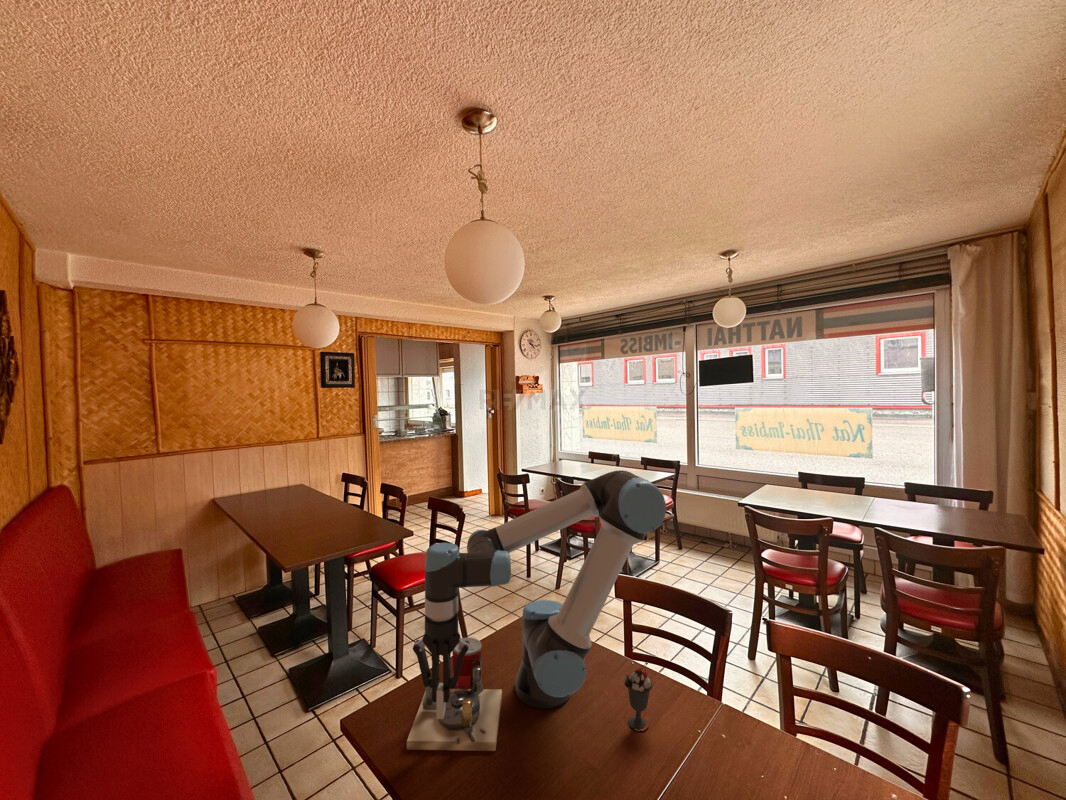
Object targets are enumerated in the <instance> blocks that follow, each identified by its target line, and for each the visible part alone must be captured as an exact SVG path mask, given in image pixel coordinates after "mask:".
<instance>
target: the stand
mask: <svg viewBox="0 0 1066 800" xmlns="http://www.w3.org/2000/svg"><path fill="white" fill-rule="evenodd" d="M459 690H465V691H470V690H471V689H455V688H450V693H451V692H454V691H459ZM502 690H503V689H495V688H494V689H490V688H489V689H488V688H485V689H484V688H483V691H482V692H481V693H480V694H479V695H478V698H479V700H480V715H479V718H478V720H477V721H476V722H475V723H474V724H473V725H472V733H469V734H465V732H464V730H463V729H461V730H451V729H447V728H445V727H443V726H442V725H441V724H440V722H439V720H438V719H436V716H437V710H423V703H424V701H425V692H424V694H423V696H422V698H421V702H420V705H419V708H418V710H417V713H416V715H415V718H414V720H413V722H412V726H411V729H410V731H409V734H408V736H407V737H408V738H407V740H406V750H410V751H412V750H415V751H416V750H417V751H419V750H420V751H427V750H428V751H468V752H469V751H472V752H473V751H474V752H475V751H479V752H495V751H496V749H497V744H498V743H497V742H498V733H499V723H500V716H501V707H502V700H503V699H502V698H503V691H502Z"/></svg>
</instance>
